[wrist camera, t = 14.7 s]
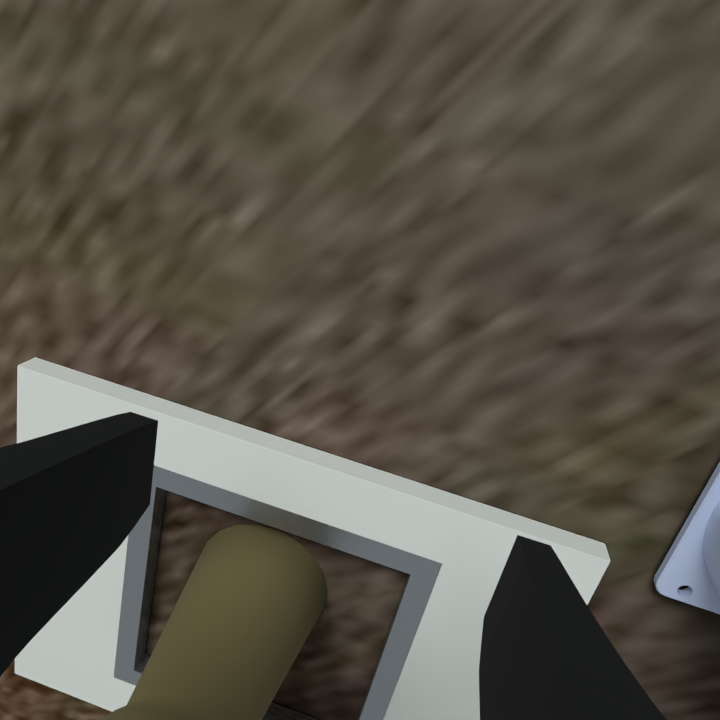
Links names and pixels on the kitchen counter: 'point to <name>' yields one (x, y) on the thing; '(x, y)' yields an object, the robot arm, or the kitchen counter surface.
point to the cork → (232, 630)
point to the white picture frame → (299, 517)
